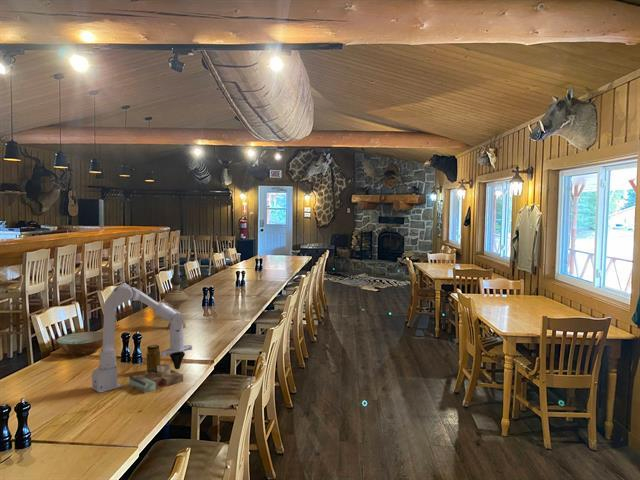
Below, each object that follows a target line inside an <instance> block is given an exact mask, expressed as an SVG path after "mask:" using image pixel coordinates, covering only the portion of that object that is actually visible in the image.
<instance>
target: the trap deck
mask: <svg viewBox="0 0 640 480" xmlns="http://www.w3.org/2000/svg"><path fill="white" fill-rule="evenodd" d="M128 377H129V378H128V379H129V381H128V382H129V385H128V386H130V387H131V388H133V389H136V390H138V391H140V392H142V393H143V394H146V393H150V392H153V391H157V390H160V389H163V388H165V387H169V386H173V385H175V384H179V383H182V382H184V374H182V373H179V372H177V371H175V370H173V369H170V375H167V376H163V377H161V376H159V375H157V373H154V372H152V373H148V374H141V375H138V376H137V375H136V376H133V375H129V376H128Z"/></svg>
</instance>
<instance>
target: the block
mask: <svg viewBox="0 0 640 480" xmlns="http://www.w3.org/2000/svg"><path fill="white" fill-rule="evenodd" d="M170 370H171V365H169V364H168V363H163V364H160V365H158V366H157V373H156V374H157V375H159V376H161V377H163V376H167V375H170Z"/></svg>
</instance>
